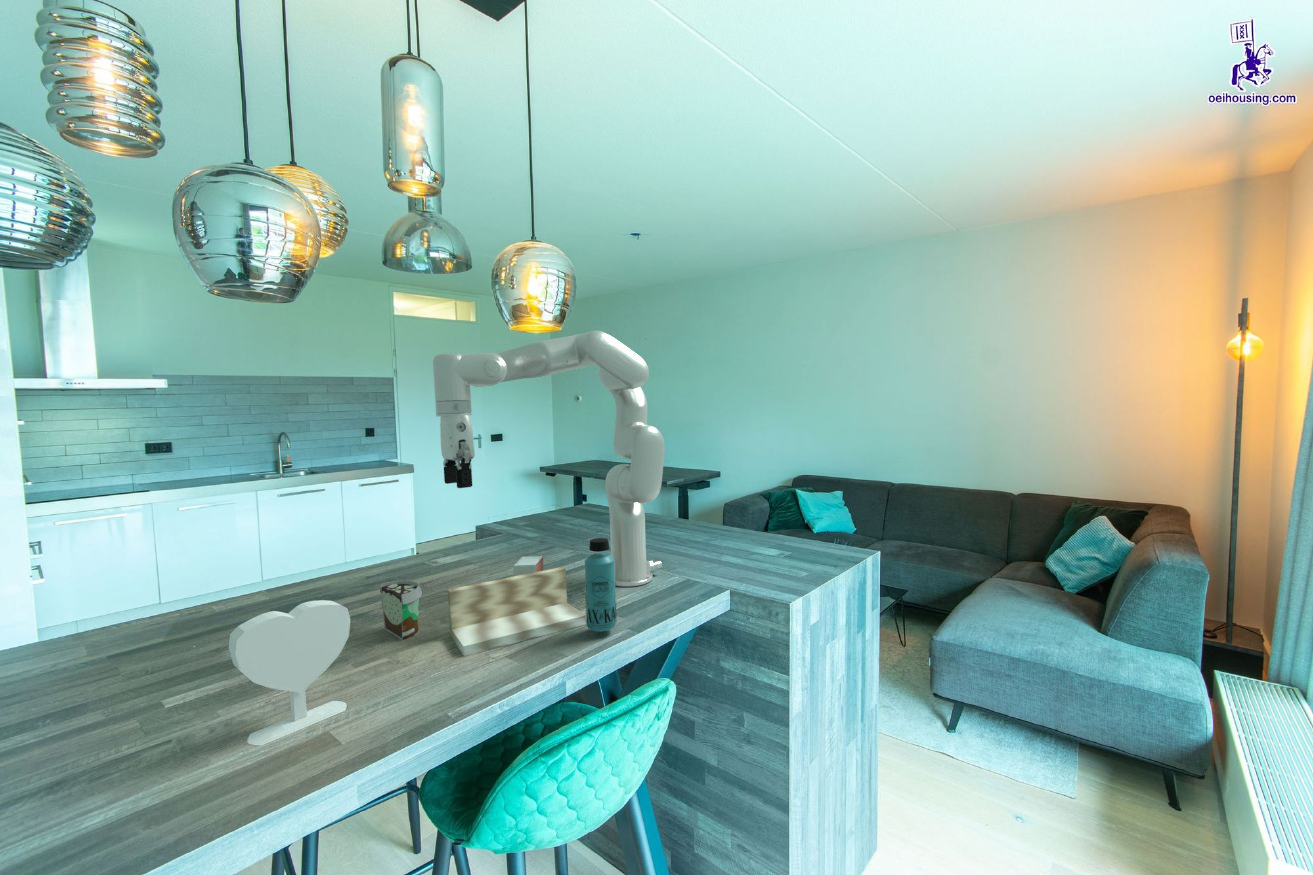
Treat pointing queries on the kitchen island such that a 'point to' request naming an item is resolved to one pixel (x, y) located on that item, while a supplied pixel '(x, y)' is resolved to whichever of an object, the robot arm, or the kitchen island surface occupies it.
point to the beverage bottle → (600, 587)
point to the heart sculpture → (291, 658)
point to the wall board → (510, 610)
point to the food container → (401, 607)
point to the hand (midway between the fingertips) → (458, 485)
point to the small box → (528, 565)
